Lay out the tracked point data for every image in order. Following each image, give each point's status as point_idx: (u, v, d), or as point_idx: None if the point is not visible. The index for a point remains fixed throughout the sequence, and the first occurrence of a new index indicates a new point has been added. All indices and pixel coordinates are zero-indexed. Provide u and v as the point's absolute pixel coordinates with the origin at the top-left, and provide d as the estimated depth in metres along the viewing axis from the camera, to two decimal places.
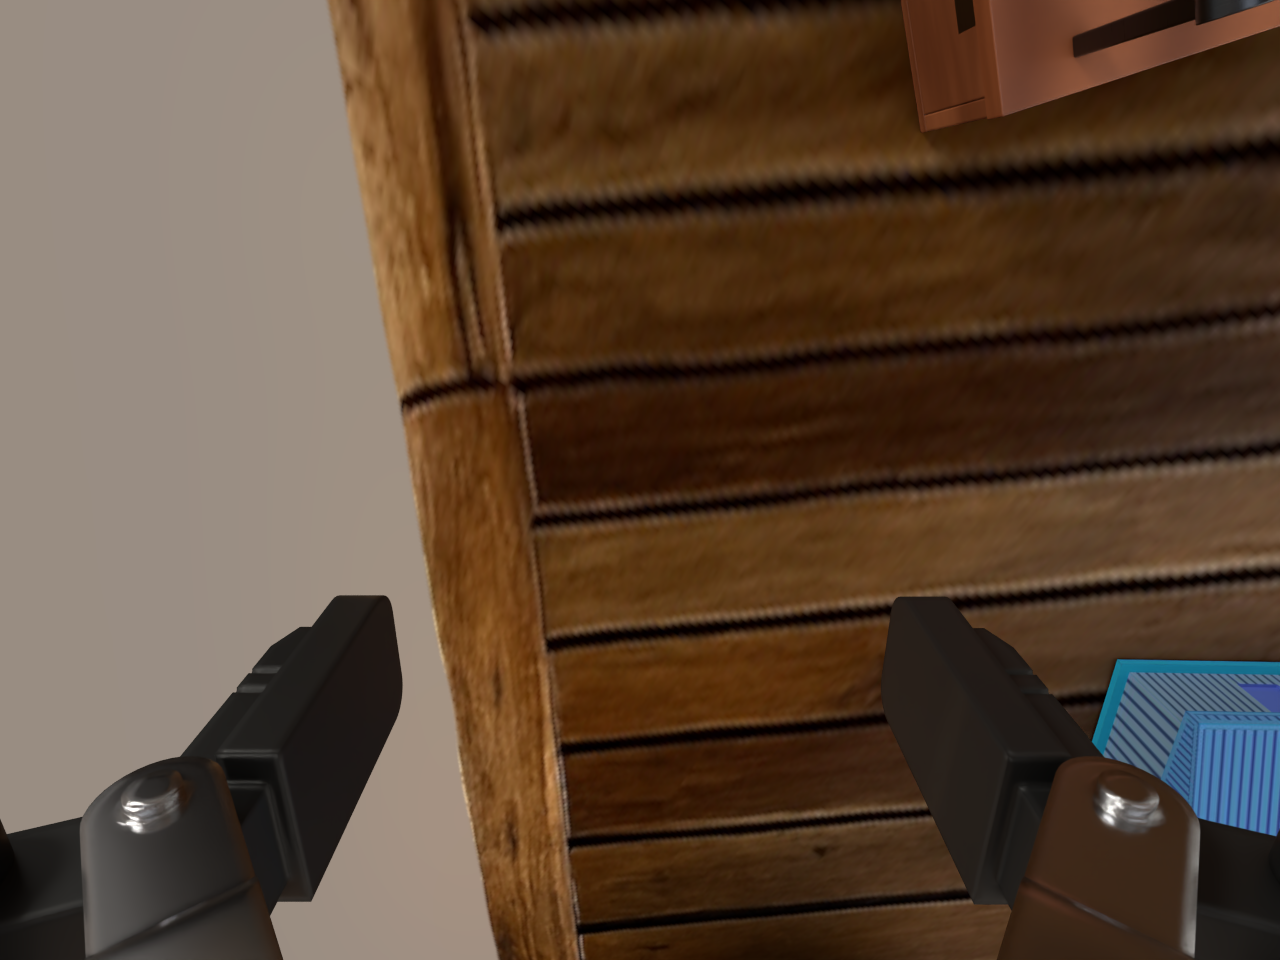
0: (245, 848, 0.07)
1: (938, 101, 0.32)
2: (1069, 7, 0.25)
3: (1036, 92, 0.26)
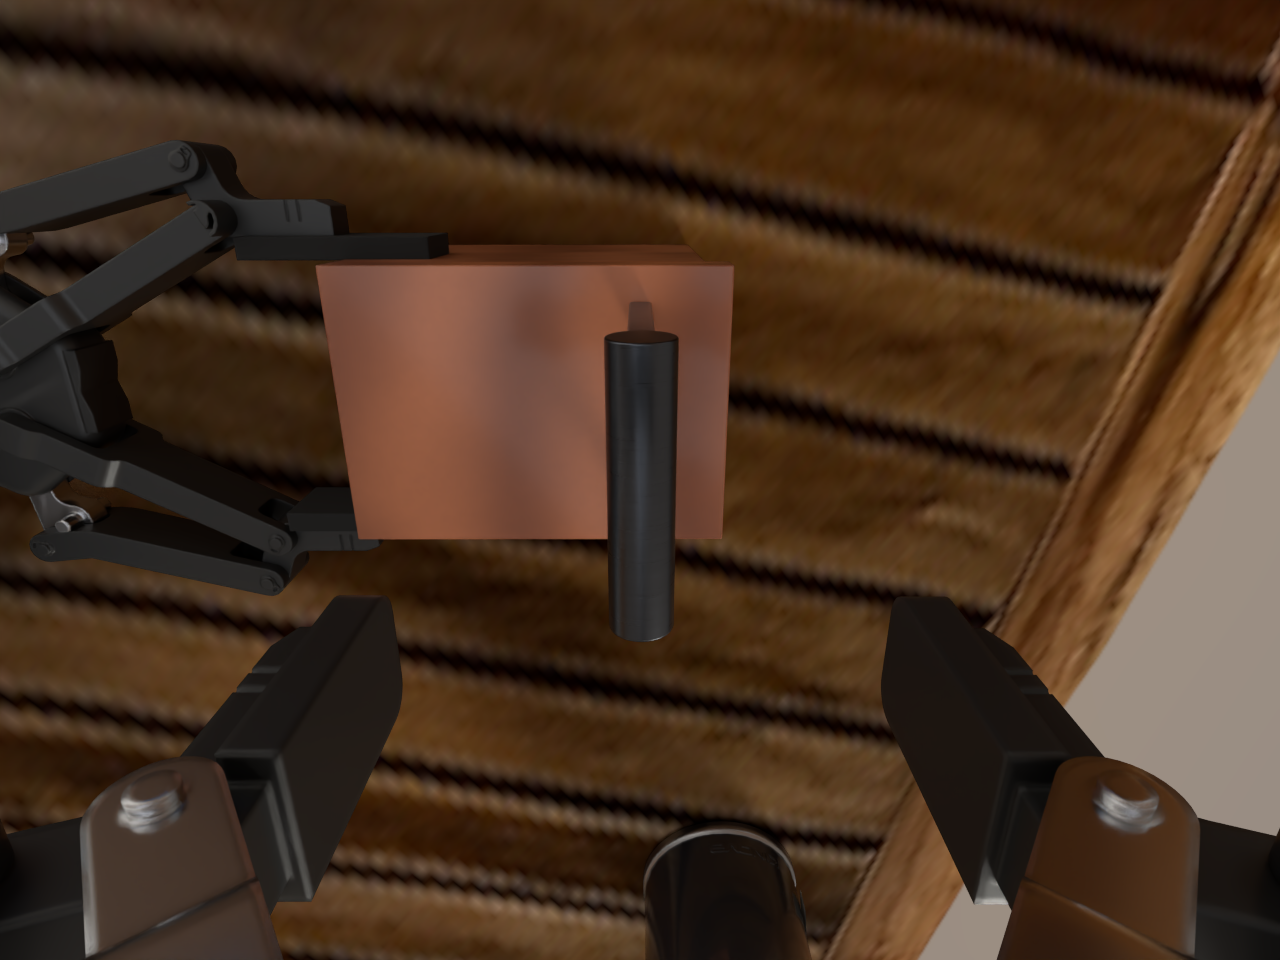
0: (245, 848, 0.07)
1: None
2: None
3: (693, 279, 0.22)
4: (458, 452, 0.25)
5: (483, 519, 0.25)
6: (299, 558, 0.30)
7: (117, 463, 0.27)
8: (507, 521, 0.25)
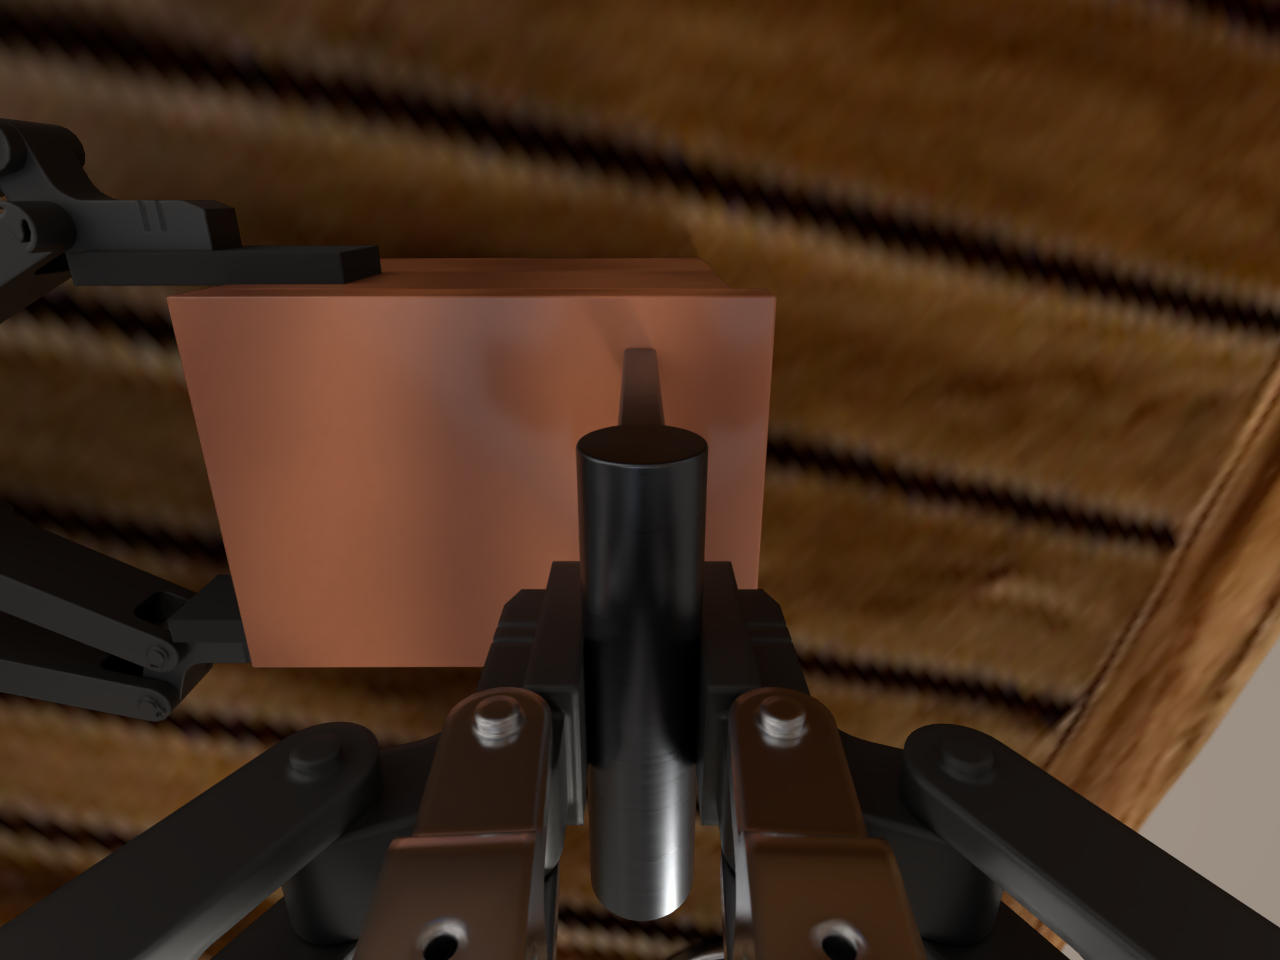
0: (543, 797, 0.07)
1: None
2: None
3: (717, 315, 0.15)
4: (385, 554, 0.18)
5: (424, 642, 0.18)
6: (194, 669, 0.23)
7: None
8: (456, 644, 0.18)
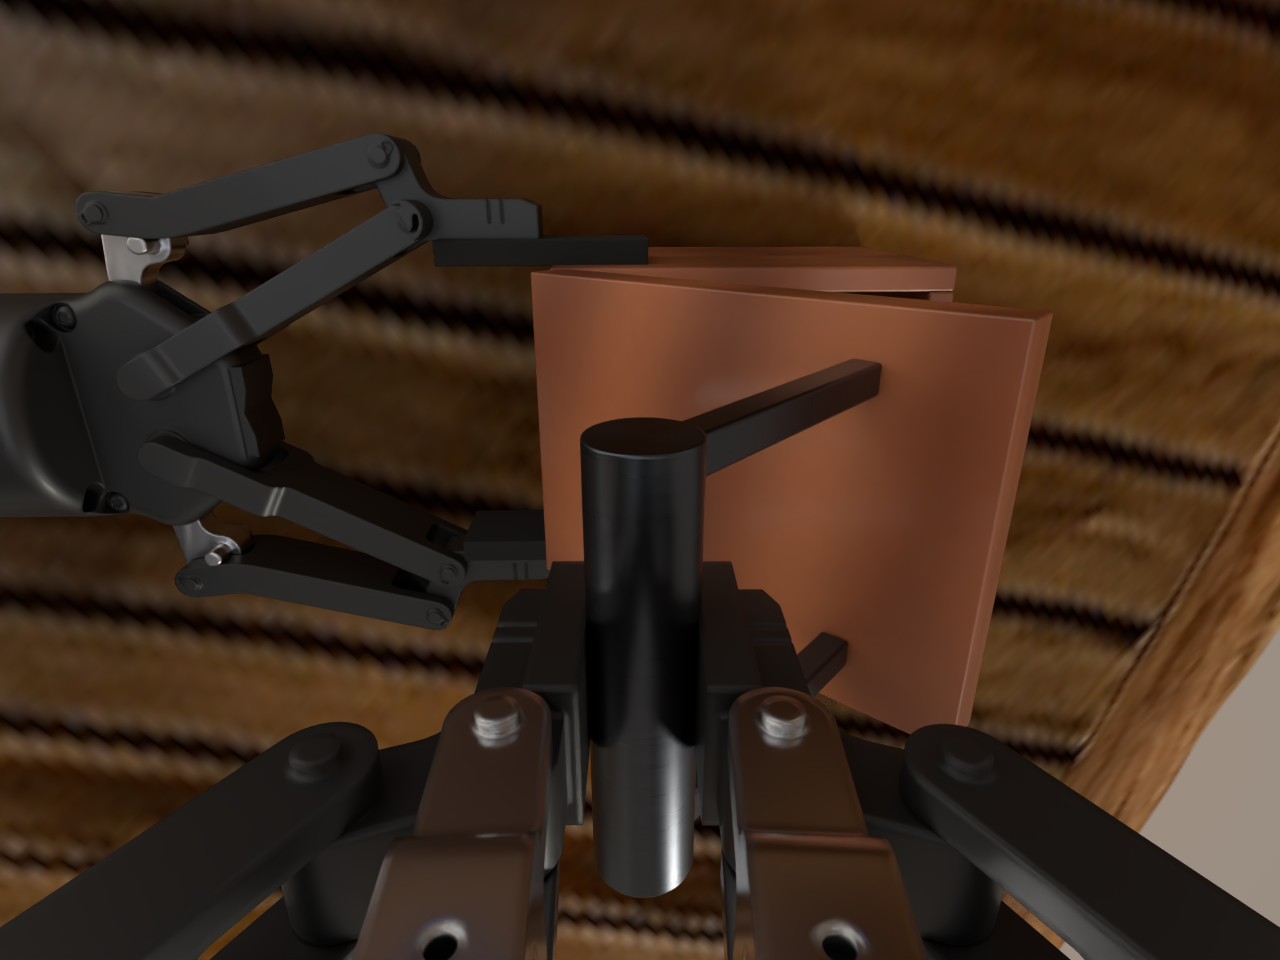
0: (542, 796, 0.07)
1: None
2: (872, 438, 0.15)
3: (957, 335, 0.13)
4: None
5: None
6: (462, 588, 0.28)
7: (281, 490, 0.25)
8: None
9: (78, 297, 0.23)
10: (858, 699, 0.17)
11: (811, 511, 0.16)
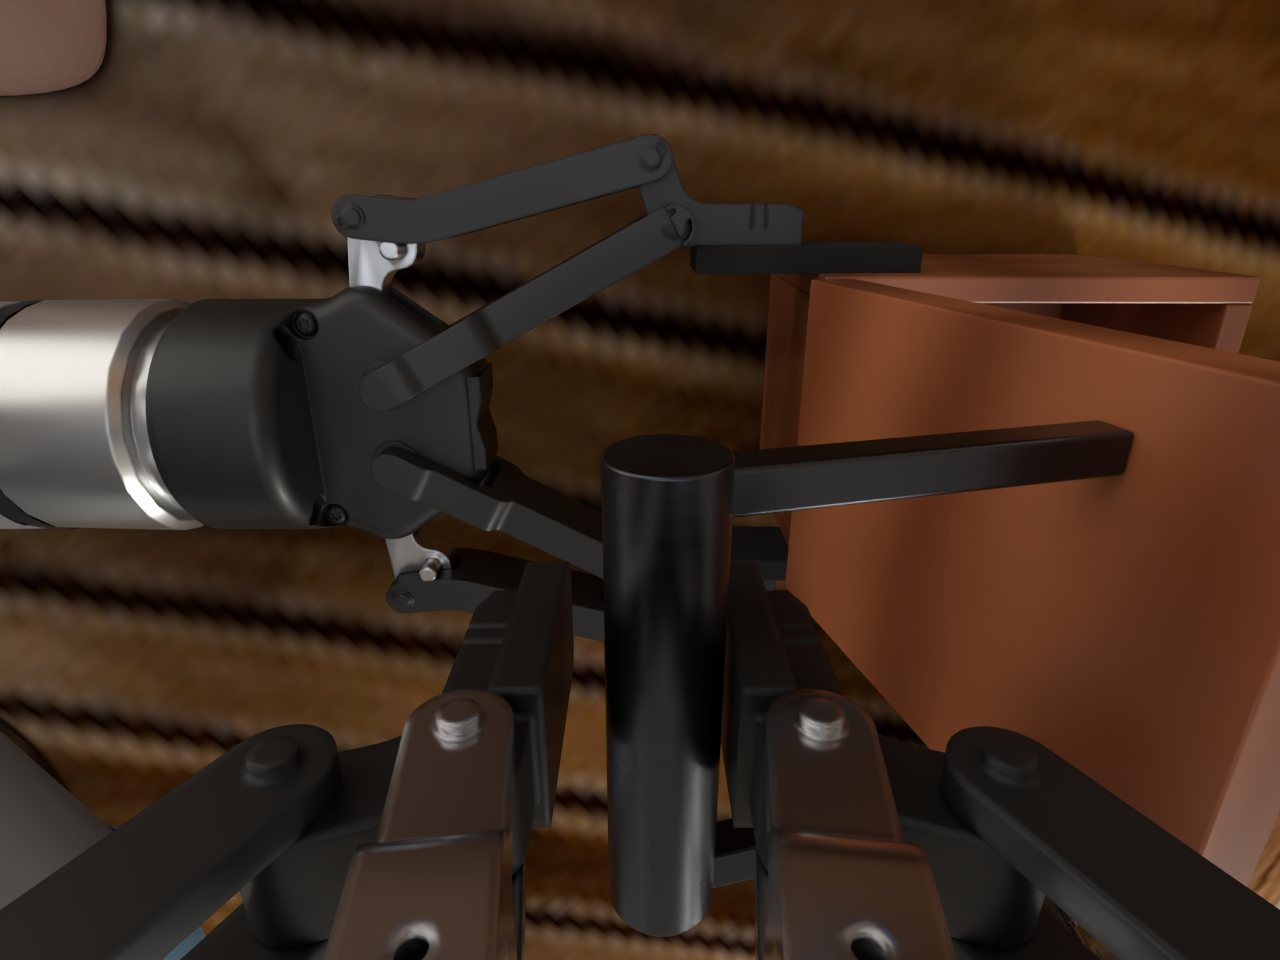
0: (508, 796, 0.07)
1: None
2: (1109, 531, 0.11)
3: (1243, 410, 0.09)
4: (860, 547, 0.18)
5: (863, 646, 0.18)
6: None
7: (507, 504, 0.24)
8: (880, 667, 0.18)
9: (319, 303, 0.22)
10: None
11: (1025, 604, 0.13)
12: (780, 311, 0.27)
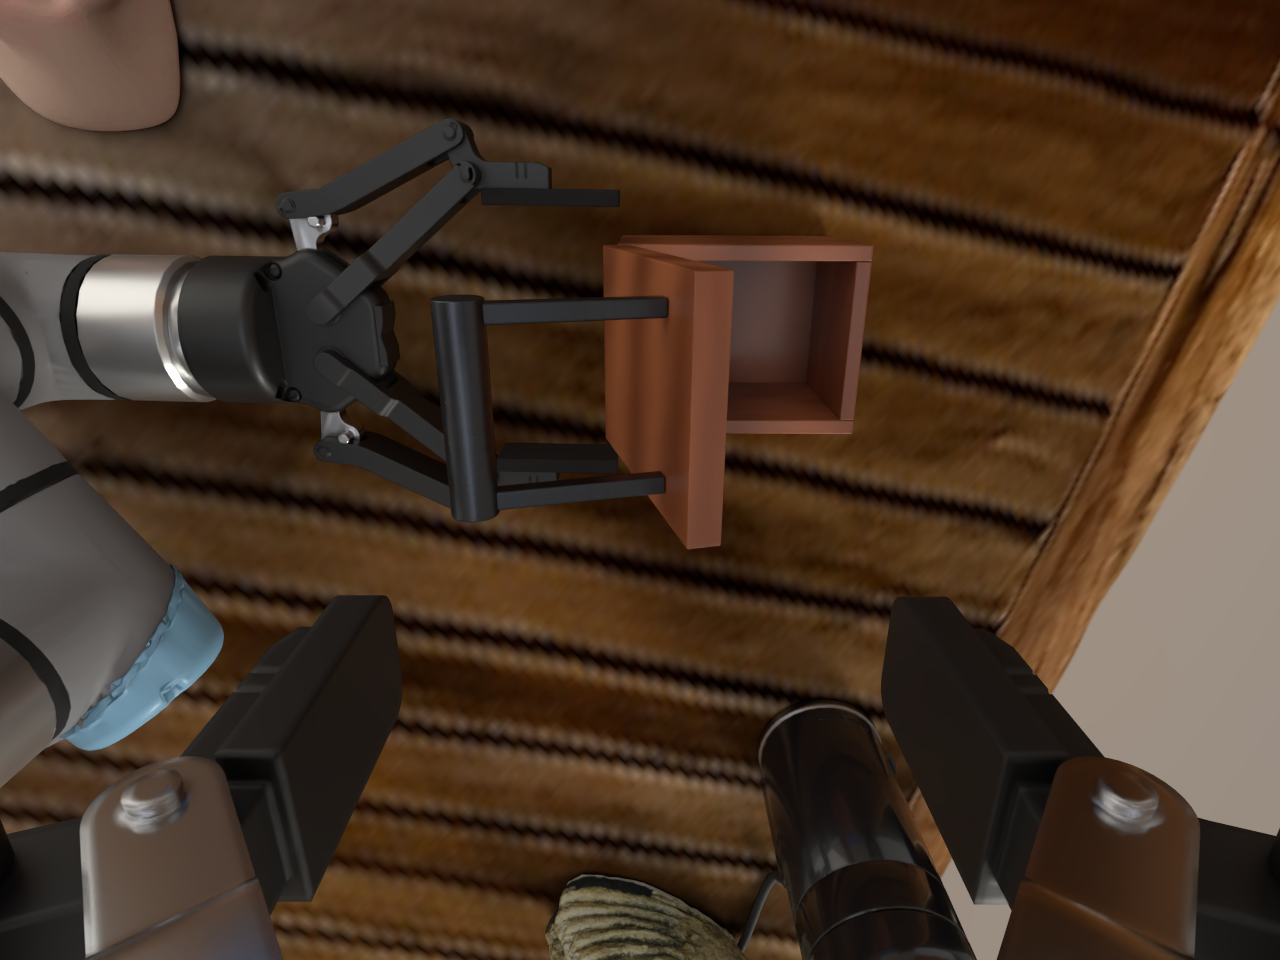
0: (245, 848, 0.07)
1: None
2: (668, 344, 0.25)
3: (681, 281, 0.23)
4: (623, 394, 0.32)
5: (627, 452, 0.33)
6: None
7: (395, 401, 0.38)
8: (632, 459, 0.32)
9: (283, 258, 0.36)
10: (668, 516, 0.27)
11: (657, 391, 0.27)
12: None
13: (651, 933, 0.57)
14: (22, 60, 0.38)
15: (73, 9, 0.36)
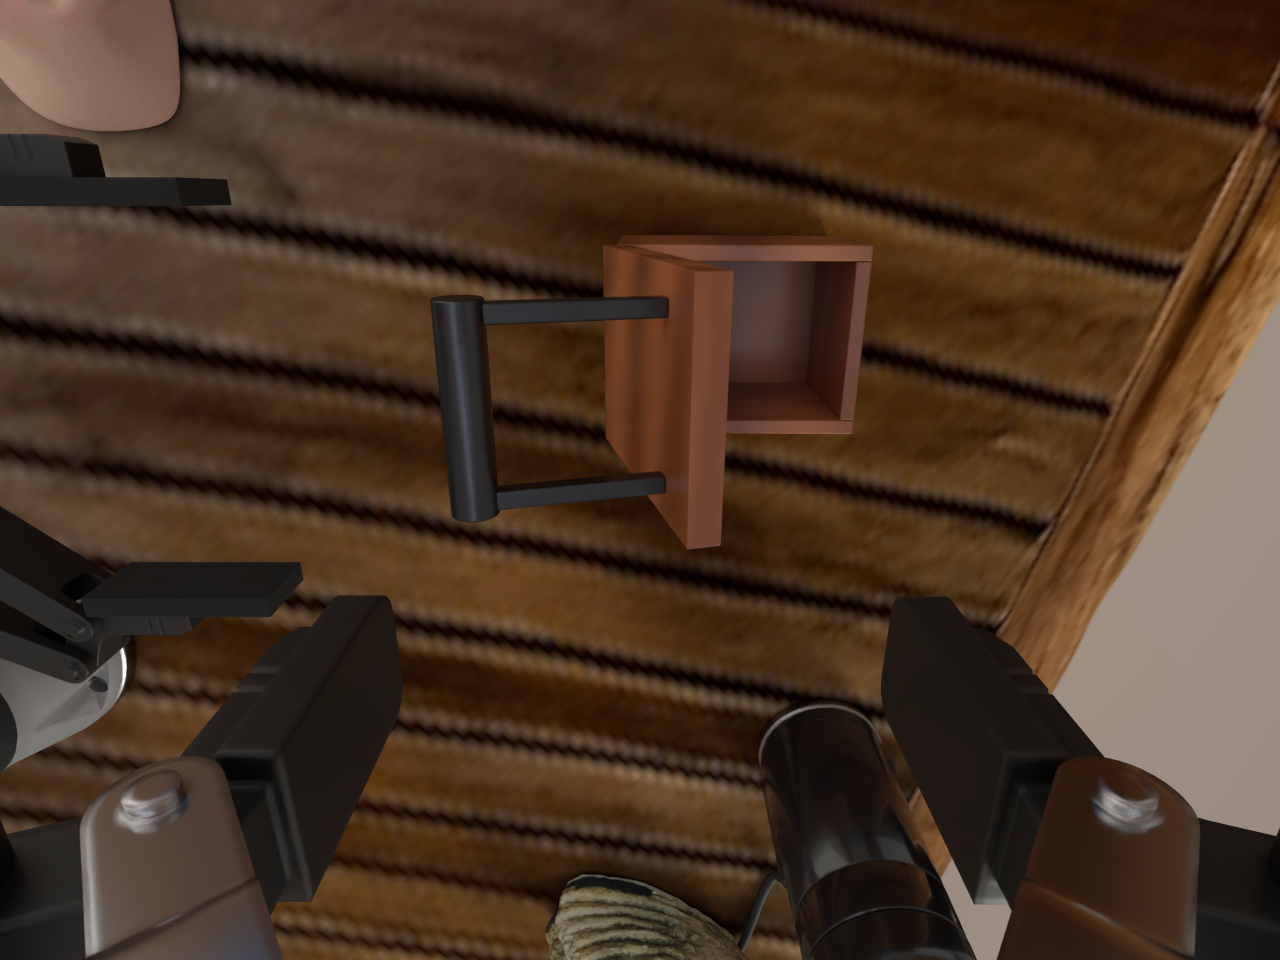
0: (245, 848, 0.07)
1: None
2: (667, 345, 0.25)
3: (681, 281, 0.23)
4: (623, 394, 0.32)
5: (627, 452, 0.33)
6: (110, 641, 0.27)
7: None
8: (631, 459, 0.32)
9: None
10: (668, 516, 0.27)
11: (657, 392, 0.27)
12: None
13: (651, 933, 0.57)
14: (22, 60, 0.38)
15: (73, 9, 0.36)
